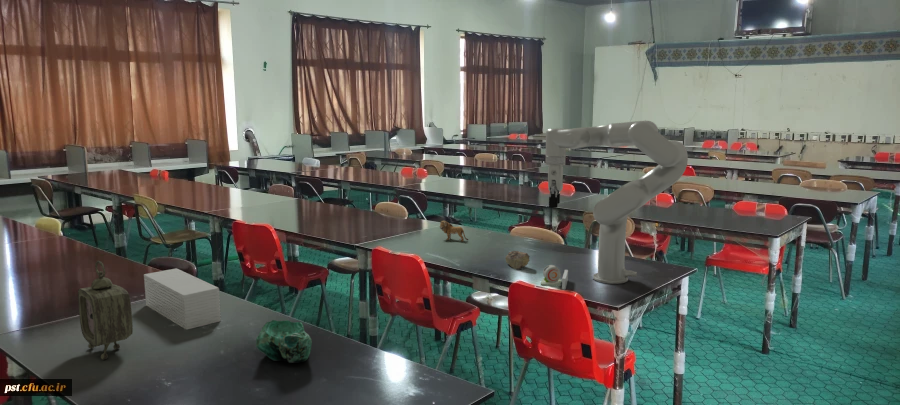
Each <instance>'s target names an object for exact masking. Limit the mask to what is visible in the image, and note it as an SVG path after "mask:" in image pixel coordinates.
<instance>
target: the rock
mask: <svg viewBox="0 0 900 405" xmlns="http://www.w3.org/2000/svg"><path fill="white" fill-rule="evenodd" d="M530 257H531V256H530V255H529V253H527V252H525V251H524V252H523V251H518V250H513V251H511V252H508V253H507V255H505V258H504V259H505V262H506V264H508V266H510V267H511V268H512V269H514V270H520V269H523V268H524V267H526V266H527V265H528V264H529V263H530Z"/></svg>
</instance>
